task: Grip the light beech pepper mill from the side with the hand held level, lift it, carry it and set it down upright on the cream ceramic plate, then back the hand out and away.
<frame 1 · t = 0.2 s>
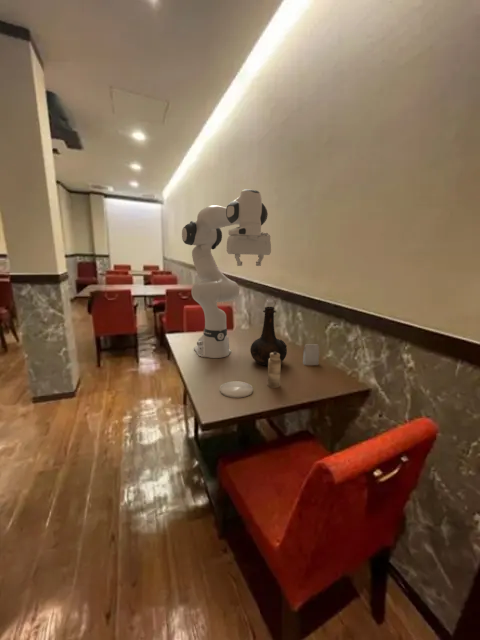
hand: (249, 265, 129), 48 cm above the table, tool pointing down, fingers open, 8 cm apart
cream plate: (236, 390, 122), on the table
white box: (310, 364, 154), on the table
pepper mill: (273, 385, 127), on the table
glass bottle: (267, 363, 154), on the table
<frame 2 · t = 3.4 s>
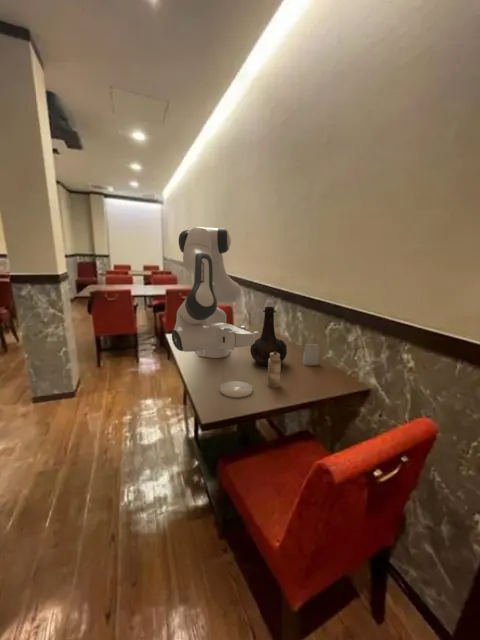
hand: (251, 331, 116), 24 cm above the table, tool horizontal, fingers open, 8 cm apart
nothing on the table moved.
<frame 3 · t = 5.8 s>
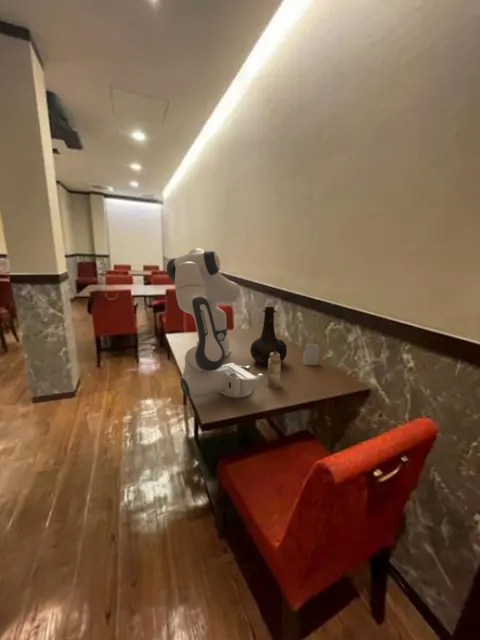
hand: (256, 372, 121), 8 cm above the table, tool horizontal, fingers open, 8 cm apart
nothing on the table moved.
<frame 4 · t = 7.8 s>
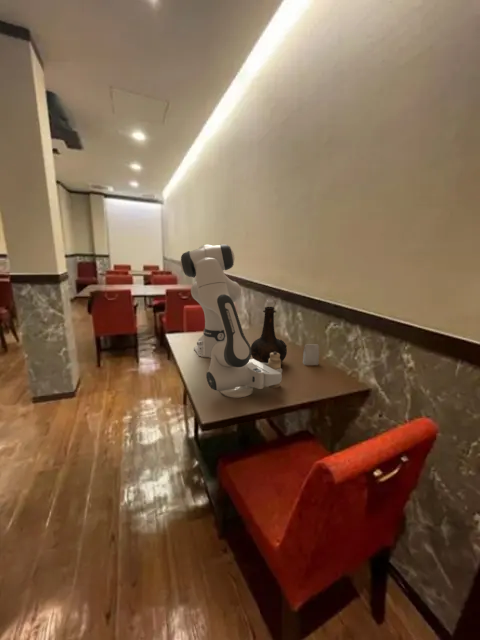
hand: (276, 367, 126), 8 cm above the table, tool horizontal, fingers closed on pepper mill, 5 cm apart
pepper mill: (273, 385, 127), on the table, touching gripper
everything else where it was.
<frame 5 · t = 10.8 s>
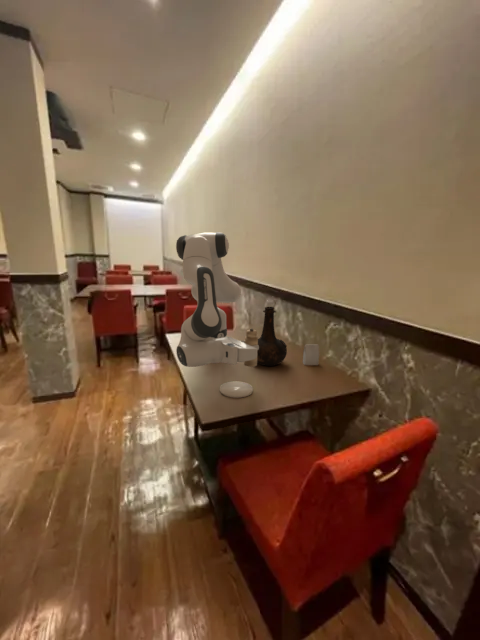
hand: (253, 344, 119), 18 cm above the table, tool horizontal, fingers closed on pepper mill, 5 cm apart
pepper mill: (250, 364, 121), point 10 cm above the table, touching gripper
everything else where it was.
when the fingers open (10 cm above the table, at t = 13.6 s): pepper mill stays where it is, resting on cream plate.
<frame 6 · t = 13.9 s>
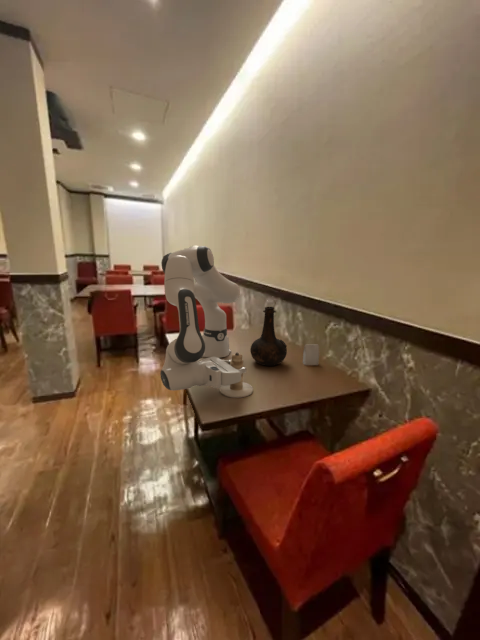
hand: (238, 365, 120), 10 cm above the table, tool horizontal, fingers open, 8 cm apart
pepper mill: (236, 387, 121), point 1 cm above the table, touching cream plate
everything else where it was.
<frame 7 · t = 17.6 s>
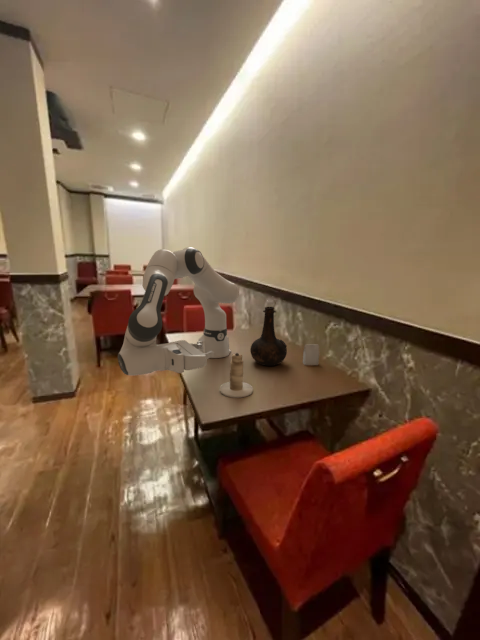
hand: (207, 349, 111), 18 cm above the table, tool horizontal, fingers open, 8 cm apart
nothing on the table moved.
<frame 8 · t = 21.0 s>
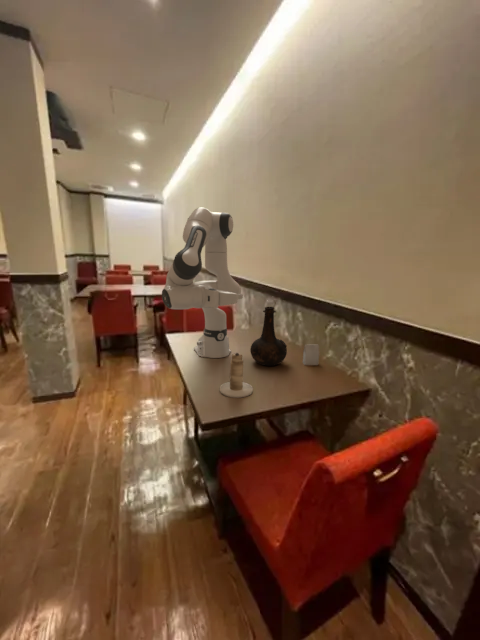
hand: (235, 294, 127), 36 cm above the table, tool horizontal, fingers open, 8 cm apart
nothing on the table moved.
at the end: pepper mill 0.0 cm off-centre on the cream plate, point 1.0 cm above the cream plate's base; pepper mill tilted 0°; the gripper is holding nothing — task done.
